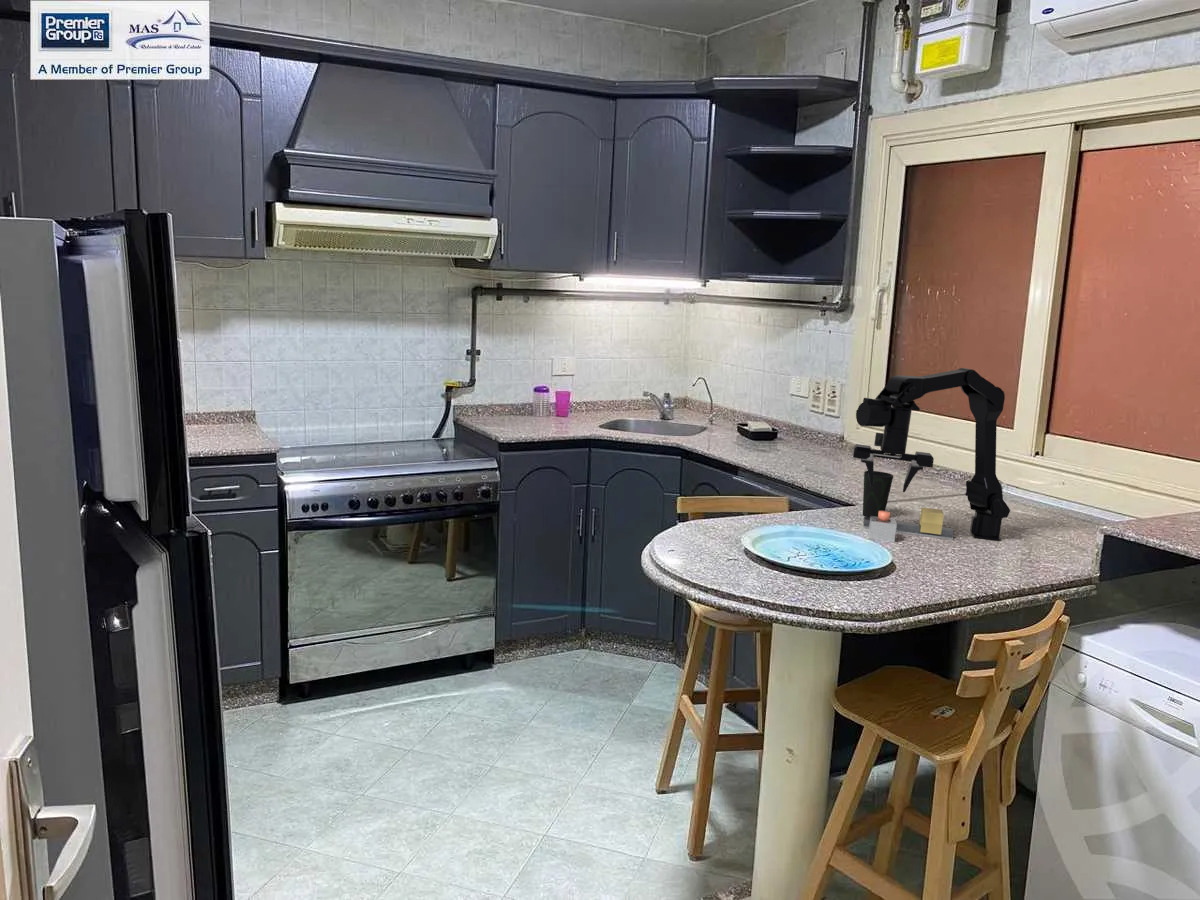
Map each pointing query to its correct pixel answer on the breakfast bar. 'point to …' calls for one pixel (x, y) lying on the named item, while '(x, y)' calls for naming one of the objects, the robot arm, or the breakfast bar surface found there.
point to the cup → (876, 493)
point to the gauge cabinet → (882, 529)
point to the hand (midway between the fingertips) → (887, 489)
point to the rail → (915, 529)
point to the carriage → (931, 520)
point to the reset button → (884, 515)
